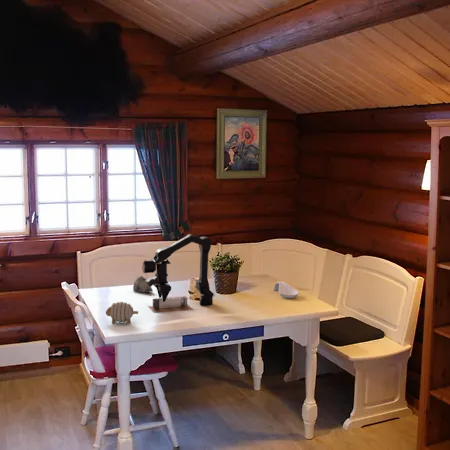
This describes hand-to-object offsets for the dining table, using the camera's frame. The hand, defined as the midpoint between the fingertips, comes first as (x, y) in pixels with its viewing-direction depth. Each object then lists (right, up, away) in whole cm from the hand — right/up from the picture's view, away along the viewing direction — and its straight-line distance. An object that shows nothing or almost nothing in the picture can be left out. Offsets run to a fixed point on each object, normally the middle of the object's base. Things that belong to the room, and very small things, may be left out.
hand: (161, 299), depth 355 cm
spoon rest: (+71, -2, +36) cm, 79 cm away
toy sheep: (-18, -10, -23) cm, 31 cm away
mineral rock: (-16, 0, +40) cm, 43 cm away
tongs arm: (+4, -4, +1) cm, 6 cm away
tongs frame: (+4, -4, +2) cm, 6 cm away
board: (+5, -6, +1) cm, 8 cm away
